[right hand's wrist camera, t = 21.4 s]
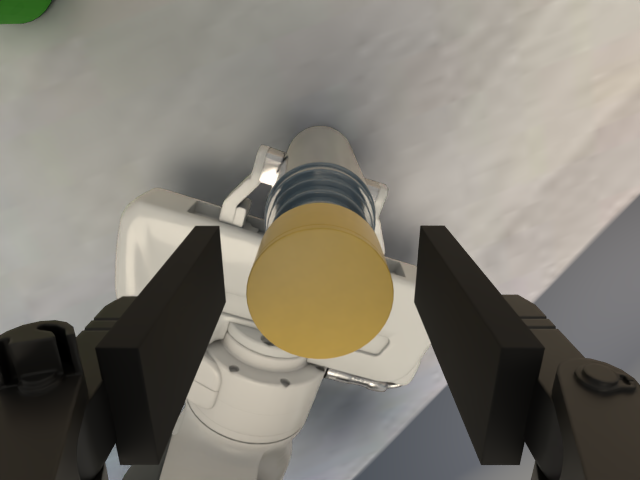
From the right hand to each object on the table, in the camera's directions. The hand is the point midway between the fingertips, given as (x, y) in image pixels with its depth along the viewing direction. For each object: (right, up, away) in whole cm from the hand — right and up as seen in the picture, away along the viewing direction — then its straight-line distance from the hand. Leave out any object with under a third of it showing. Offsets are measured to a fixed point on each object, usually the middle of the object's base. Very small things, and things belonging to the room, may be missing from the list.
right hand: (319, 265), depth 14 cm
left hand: (0, +5, +11) cm, 12 cm away
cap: (0, -1, -2) cm, 2 cm away
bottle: (0, +7, +17) cm, 19 cm away
